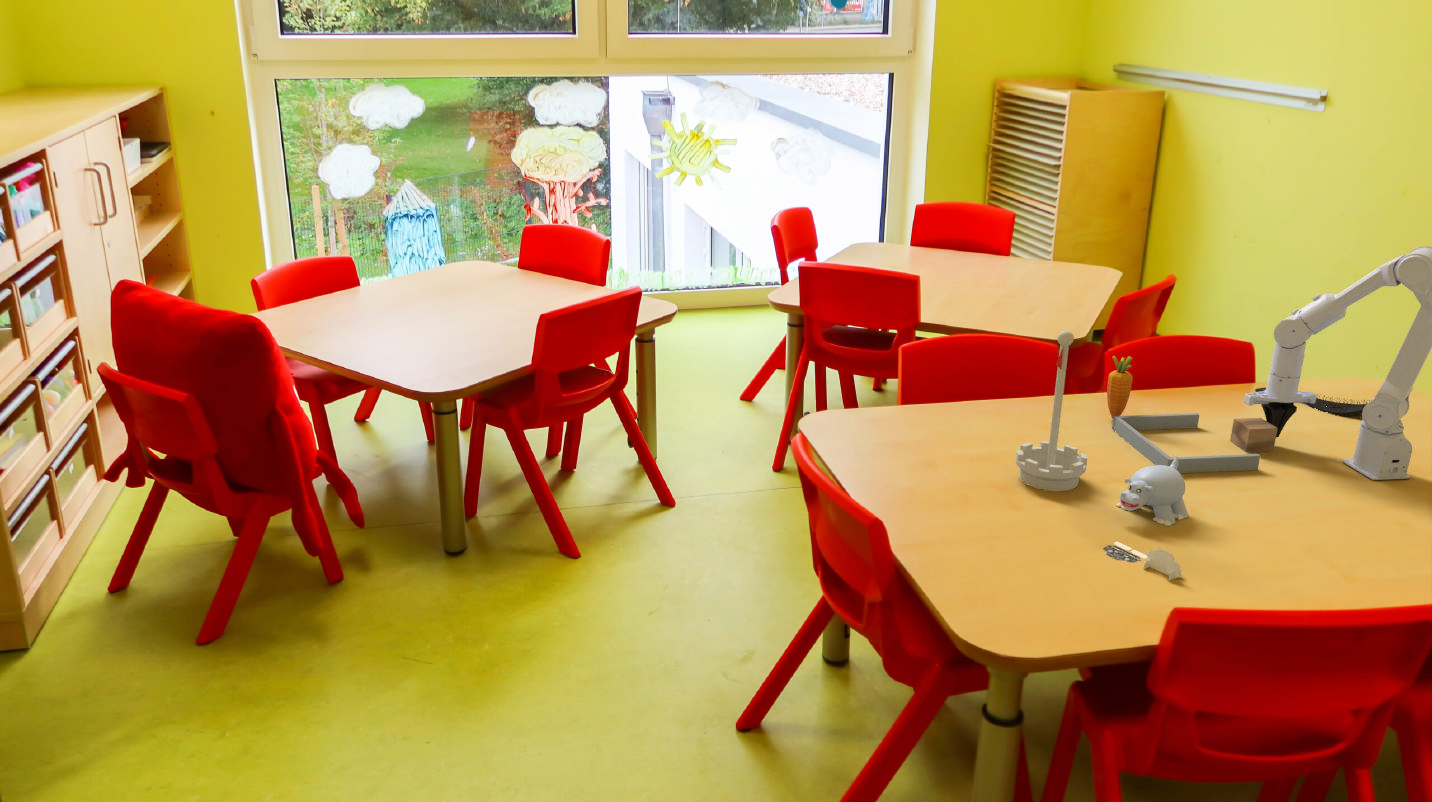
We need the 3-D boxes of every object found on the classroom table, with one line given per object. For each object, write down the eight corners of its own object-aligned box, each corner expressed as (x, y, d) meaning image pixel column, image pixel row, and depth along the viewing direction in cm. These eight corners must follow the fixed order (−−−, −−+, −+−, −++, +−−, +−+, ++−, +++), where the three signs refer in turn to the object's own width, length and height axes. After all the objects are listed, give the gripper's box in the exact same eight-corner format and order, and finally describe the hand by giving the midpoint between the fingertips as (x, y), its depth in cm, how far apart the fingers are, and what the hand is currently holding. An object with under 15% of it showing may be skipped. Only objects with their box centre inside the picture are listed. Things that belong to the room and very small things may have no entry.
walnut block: (1273, 450, 227) (1277, 428, 226) (1245, 451, 227) (1249, 429, 225) (1256, 439, 233) (1261, 417, 231) (1230, 440, 232) (1233, 418, 231)
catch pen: (1257, 469, 218) (1260, 455, 217) (1166, 473, 216) (1168, 459, 215) (1195, 425, 240) (1197, 413, 239) (1111, 429, 238) (1113, 416, 237)
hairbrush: (1263, 377, 265) (1379, 397, 247) (1261, 391, 266) (1376, 413, 248) (1249, 384, 259) (1367, 406, 242) (1248, 399, 260) (1364, 422, 243)
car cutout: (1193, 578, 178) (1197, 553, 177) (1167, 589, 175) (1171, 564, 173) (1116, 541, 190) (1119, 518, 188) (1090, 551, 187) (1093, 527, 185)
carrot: (1098, 418, 245) (1106, 354, 239) (1115, 415, 247) (1123, 351, 241) (1114, 425, 240) (1123, 360, 235) (1131, 422, 242) (1140, 357, 237)
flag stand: (1025, 461, 222) (1040, 317, 212) (1091, 474, 216) (1110, 327, 205) (1005, 483, 211) (1020, 334, 201) (1074, 499, 205) (1093, 345, 195)
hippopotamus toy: (1097, 514, 199) (1103, 465, 196) (1144, 493, 208) (1151, 446, 205) (1150, 535, 191) (1158, 485, 188) (1198, 513, 200) (1206, 464, 197)
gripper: (1306, 366, 230) (1294, 427, 234) (1240, 368, 228) (1229, 429, 233) (1327, 377, 223) (1314, 439, 228) (1259, 379, 221) (1248, 442, 226)
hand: (1273, 435), depth 230 cm, fingers closed
